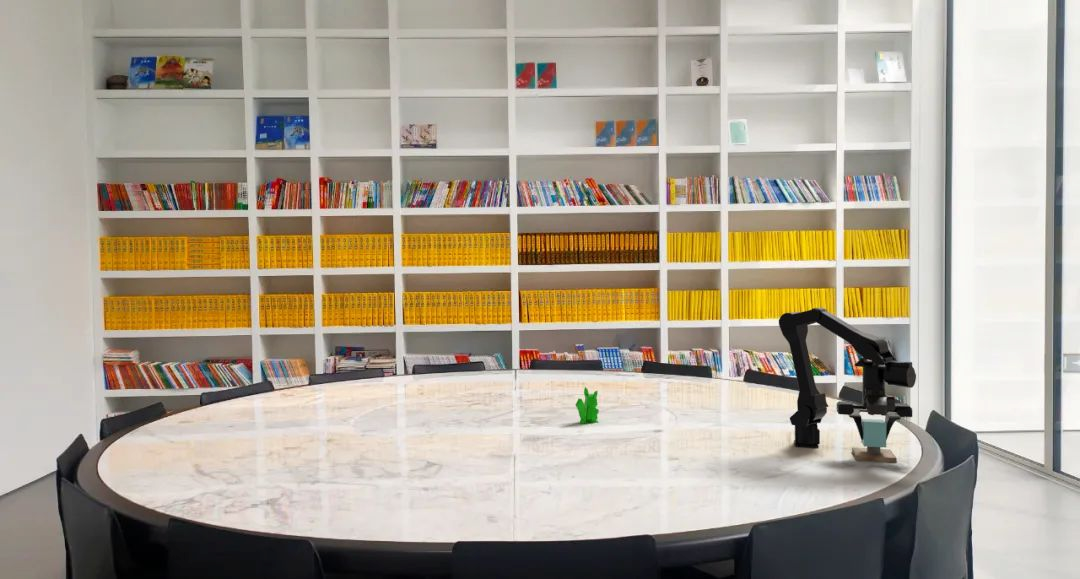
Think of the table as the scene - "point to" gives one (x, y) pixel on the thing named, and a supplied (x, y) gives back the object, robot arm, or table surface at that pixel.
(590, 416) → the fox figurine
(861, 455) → the post board
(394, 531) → the table surface
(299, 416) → the table surface
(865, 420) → the teal block
